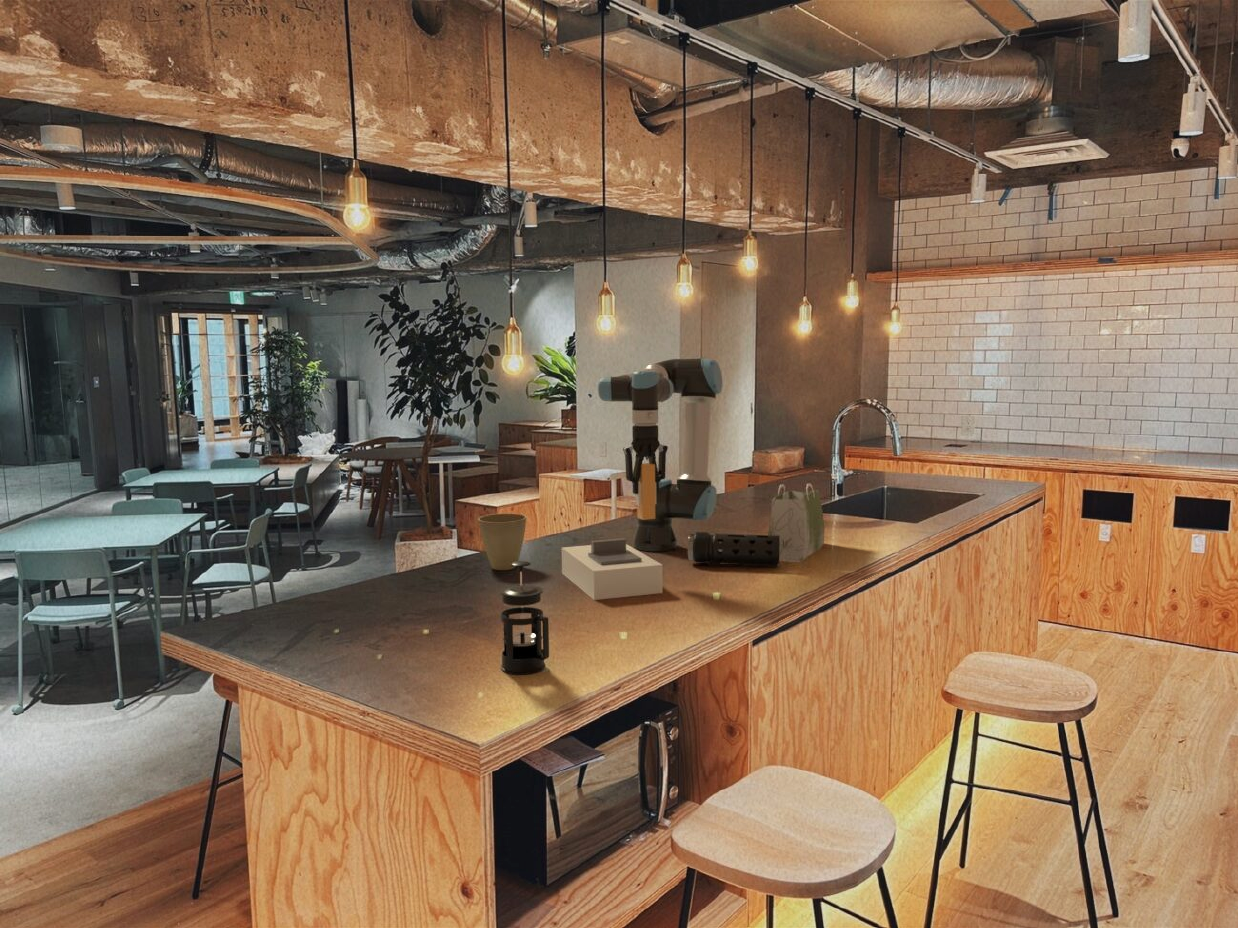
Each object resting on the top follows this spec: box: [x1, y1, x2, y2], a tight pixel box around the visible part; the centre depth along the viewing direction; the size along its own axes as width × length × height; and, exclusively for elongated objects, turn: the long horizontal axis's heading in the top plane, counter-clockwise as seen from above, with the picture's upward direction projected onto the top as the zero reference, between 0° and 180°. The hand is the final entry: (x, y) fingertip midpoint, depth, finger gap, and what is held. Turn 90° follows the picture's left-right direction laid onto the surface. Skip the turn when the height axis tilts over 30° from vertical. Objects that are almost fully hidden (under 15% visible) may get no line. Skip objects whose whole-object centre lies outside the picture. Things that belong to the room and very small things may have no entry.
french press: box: [499, 560, 550, 676], centre depth 191 cm, size 12×9×23 cm
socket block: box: [561, 543, 664, 601], centre depth 262 cm, size 32×20×8 cm, turn 19°
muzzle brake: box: [687, 531, 780, 568], centre depth 282 cm, size 10×28×10 cm, turn 78°
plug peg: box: [636, 462, 655, 520], centre depth 263 cm, size 4×4×16 cm
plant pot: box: [477, 512, 527, 571], centre depth 282 cm, size 15×15×16 cm
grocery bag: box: [767, 483, 826, 564], centre depth 300 cm, size 32×14×23 cm, turn 155°
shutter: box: [588, 537, 641, 565], centre depth 258 cm, size 12×12×4 cm
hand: (645, 504), depth 264 cm, fingers closed on plug peg, 4 cm apart
